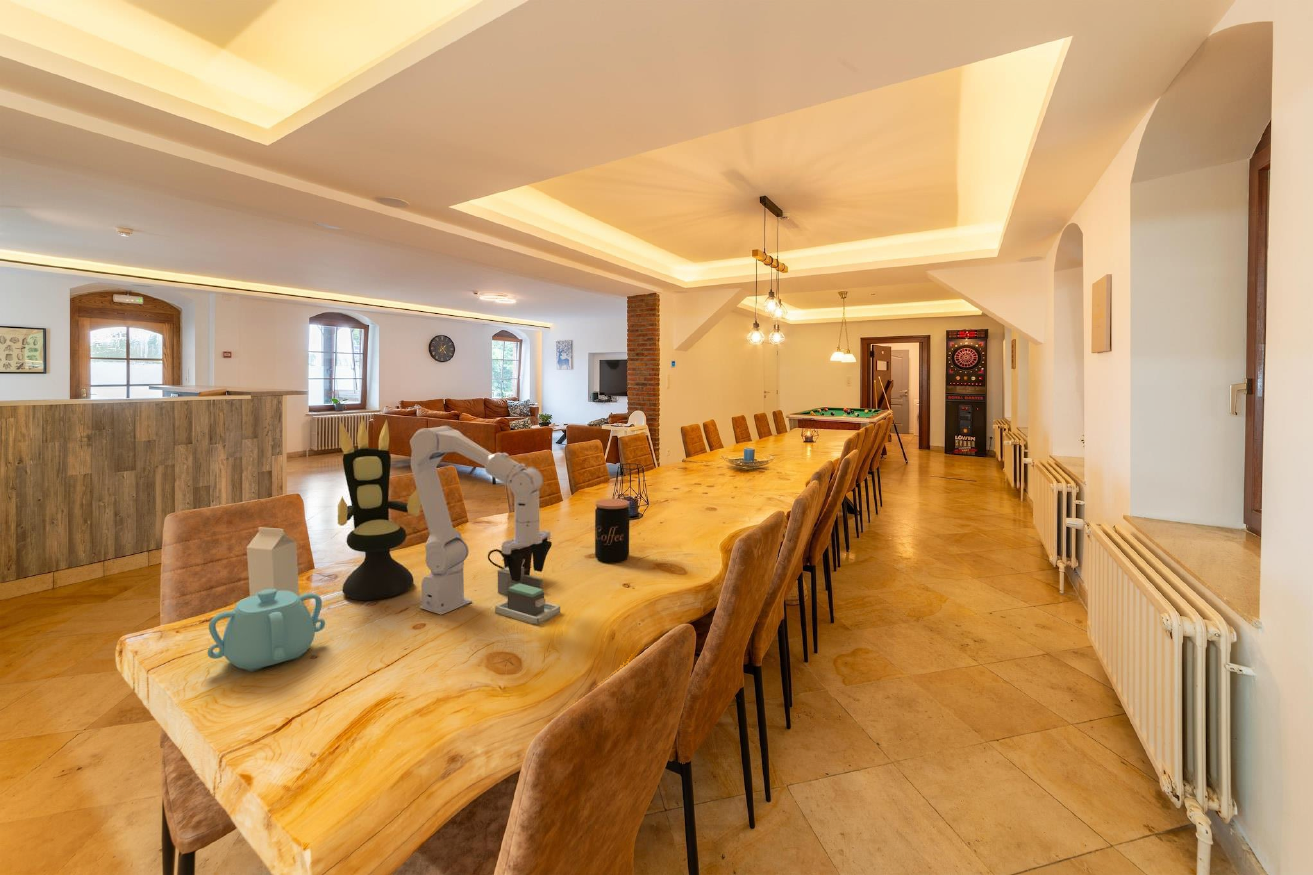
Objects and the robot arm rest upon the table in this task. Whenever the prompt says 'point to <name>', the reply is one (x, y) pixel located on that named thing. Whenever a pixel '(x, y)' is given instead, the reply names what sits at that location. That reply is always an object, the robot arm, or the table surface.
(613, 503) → the coffee jar
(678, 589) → the table surface
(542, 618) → the tray
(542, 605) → the mint green tabbed block
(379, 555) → the black throne chair
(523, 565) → the coffee mug
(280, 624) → the decorative pot
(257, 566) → the milk carton
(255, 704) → the table surface
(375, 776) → the table surface
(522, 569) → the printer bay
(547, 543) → the robot arm
